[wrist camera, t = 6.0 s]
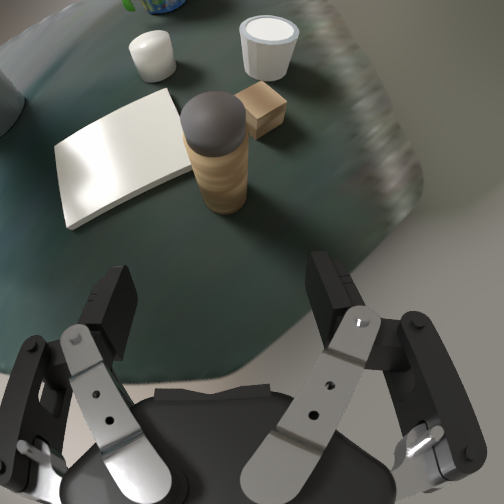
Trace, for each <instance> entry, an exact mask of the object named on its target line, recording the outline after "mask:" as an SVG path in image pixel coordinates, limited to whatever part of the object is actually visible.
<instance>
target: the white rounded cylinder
mask: <svg viewBox="0 0 504 504" xmlns="http://www.w3.org/2000/svg"><path fill="white" fill-rule="evenodd" d="M129 50H130V53H131V55H132V58H133V60H134V63H135V66H136V68H137V71H138V73H139V76H140V78H141V80H143V81H144V82H148V83H154V82H159V81H162V80H164V79H166V78H168V77H169V76H171V75H172V74H173V73H174V72H175V70H176V61H175V57H174V53H173V49H172V45H171V41H170V36H169V34H168V33H167V32H166V31H161V30H156V31H150V32H147V33H144V34H142V35H140V36H138V37H137V38H135V39H134V40H133V41H132V42H131V44H130V46H129Z"/></svg>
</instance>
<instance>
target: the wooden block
mask: <svg viewBox="0 0 504 504" xmlns="http://www.w3.org/2000/svg"><path fill="white" fill-rule="evenodd" d="M234 96H236V97H237V98H239V99H240V100H241V102H242V103H243V105H244V106H245V110H246V123H247V125H248V129H249V134H250V135H251V136H252V137H253V138H254V139H255V140H257V139H258V138H260V137H261V136H263V135H264V134H266V133H267V132H269V131H271V130H272V129H274V128H275V127H277V126H279V125H280V124H282V123H283V120H284V115H285V110H286V105H287V101H286V100H285V99H284V98H282V97H281V96H280V95H279V94H278V93H277V92H275V91H274V90H273V89H272V88H271V87H269V86H268V85H267V84H266V83H264V82H263V81H260V82H258V83H256V84H254V85H252V86H250V87H248V88H247V89H245V90H243V91H241V92H239V93H237V94H236V95H234Z"/></svg>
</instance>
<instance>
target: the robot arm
mask: <svg viewBox="0 0 504 504" xmlns="http://www.w3.org/2000/svg"><path fill="white" fill-rule="evenodd" d="M24 103H25V99H24V97H23V95H22V94H21V93H20V92H19V90H18V89H16V87H15V86H14V85H13V84H12V83H11V81H10V80H9V79H8V78H7V77H6V76H5V74H4V73H3V72H2V71H1V70H0V137H1V136H3V135H4V134H5V133H6V132H7V131H8V130H9V129H10V128H11V127H12V126H13V124H14V123H15V122H16V120H17V119H18V117H19V115H20V114H21V112H22V109H23V107H24ZM305 286H306V292H307V295H308V298H309V301H310V304H311V307H312V310H313V314H314V317H315V320H316V323H317V326H318V329H319V332H320V336H321V339H322V342H323V345H324V348H325V349H324V350H323V351H322V353H321V355H320V356H319V358H318V360H317V362H316V363H315V365H314V367H313V369H312V370H311V372H310V374H309V375H308V377H307V379H306V380H305V382H304V384H303V385H302V387H301V389H300V390H299V392H298V393H297V395H296V397H295V398H293V397H291V396H289V395H286V394H283V393H278V392H272V391H270V384H262V385H251V386H240V387H237V388H233V389H230V390H226V391H223V392H219V393H215V394H204V393H199V392H195V391H190V390H185V389H157V388H156V389H155V393H154V397H150V398H147V399H144V400H142V401H140V402H138V403H137V404H134V403H133V401H132V400H131V398H130V397H129V395H128V393H127V392H126V390H125V388H124V387H123V385H122V383H121V382H120V380H119V378H118V376H117V375H116V373H115V371H114V369H113V368H112V363H113V361H122V360H123V356H124V352H125V348H126V344H127V340H128V336H129V332H130V328H131V325H132V321H133V317H134V314H135V310H136V307H137V302H138V298H137V292H136V289H135V286H134V283H133V280H132V277H131V275H130V272H129V269H128V267H127V266H126V265H125V266H112V267H110V268H109V270H108V272H107V274H106V276H105V278H101V279H100V280H99V281H98V282H97V283H96V284H95V285H94V287H93V289H92V292H91V295H90V296H89V298H88V300H87V301H88V302H87V303H86V305H85V307H84V309H83V312H82V314H81V316H80V319H79V321H78V323H77V324H76V325H73V326H71V327H69V328H68V329H66V330H65V331H64V333H63V334H62V336H61V339H60V340H56V341H52V342H48V343H46V341H45V340H44V338H43V337H42V336H40V335H34V336H31V337H29V338H28V339H27V340H25V342H24V343H23V344H22V346H21V349H20V351H19V353H18V356H17V359H16V361H15V364H14V366H13V369H12V372H11V375H10V378H9V381H8V383H7V387H6V390H5V393H4V396H3V399H2V403H1V406H0V485H1V486H3V487H6V488H7V489H9V490H11V491H12V492H14V493H16V494H19V495H21V496H23V497H25V498H28V499H31V500H34V501H37V502H40V503H43V504H395V502H396V501H399V500H402V499H405V498H407V497H410V496H413V495H416V494H418V493H421V492H423V493H432V492H434V491H437V490H439V489H441V488H443V487H446V486H448V485H450V484H452V483H454V482H456V481H458V480H460V479H463V478H464V477H466V476H468V475H470V474H472V473H474V472H476V471H477V470H479V469H480V468H481V467H482V466H483V464H484V462H485V460H486V457H487V447H486V443H485V440H484V437H483V435H482V432H481V429H480V426H479V424H478V421H477V418H476V416H475V413H474V410H473V408H472V405H471V403H470V400H469V398H468V396H467V393H466V391H465V389H464V386H463V384H462V382H461V380H460V378H459V375H458V373H457V371H456V369H455V367H454V365H453V363H452V360H451V358H450V356H449V354H448V352H447V350H446V348H445V346H444V344H443V342H442V340H441V338H440V336H439V334H438V332H437V331H436V329H435V327H434V325H433V323H432V321H431V320H430V319H429V317H427V316H426V315H425V314H423V313H421V312H418V311H409V312H407V313H405V314H404V315H403V316H402V318H401V320H392V319H383V318H380V316H379V314H378V313H377V312H376V311H375V310H373V309H371V308H370V307H367V306H365V303H364V301H363V299H362V297H361V295H360V293H359V292H358V290H357V288H356V286H355V284H354V283H353V280H352V278H351V277H350V274H349V272H348V270H347V269H346V267H345V266H344V265H343V264H341V263H340V262H339V261H338V260H336V261H331V260H330V258H329V256H328V254H327V252H326V251H325V250H320V251H309V252H308V255H307V266H306V277H305ZM364 369H372V370H382V371H383V374H384V376H385V379H386V383H387V386H388V389H389V392H390V395H391V398H392V401H393V405H394V408H395V411H396V415H397V418H398V421H399V425H400V429H401V432H402V436H403V438H402V439H401V440H400V441H399V442H398V444H397V445H396V447H395V452H394V455H395V462H394V466H393V468H392V470H391V471H390V470H389V469H388V468H387V467H386V466H385V465H384V464H382V463H381V462H380V461H378V460H377V459H375V458H374V457H373V456H371V455H370V454H368V453H367V452H366V451H364V450H363V449H361V448H360V447H359V446H357V445H356V444H355V443H353V442H352V441H350V440H349V439H348V438H346V437H345V436H344V435H342V434H341V433H340V432H338V431H337V430H336V428H337V426H338V424H339V422H340V420H341V418H342V416H343V413H344V412H345V410H346V408H347V405H348V403H349V401H350V399H351V397H352V395H353V393H354V390H355V388H356V386H357V384H358V381H359V379H360V377H361V374H362V372H363V370H364ZM42 381H43V382H44V383H45V385H44V388H43V392H42V396H41V399H40V402H39V399H38V393H39V390H40V386H41V383H42ZM73 392H74V394H75V397H76V399H77V402H78V404H79V406H80V409H81V411H82V413H83V415H84V418H85V420H86V422H87V424H88V426H89V428H90V430H91V432H92V434H93V436H94V438H95V440H96V443H95V444H94V445H93V446H92V447H91V448H90V449H89V450H88V451H87V452H86V453H85V454H84V455H83V456H81V458H79V459H78V460H77V462H76V463H74V464H73V466H72V467H70V468H69V469H68V467H67V466H66V461H65V459H64V457H63V456H62V448H63V441H64V435H65V429H66V423H67V418H68V412H69V407H70V402H71V398H72V393H73Z"/></svg>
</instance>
